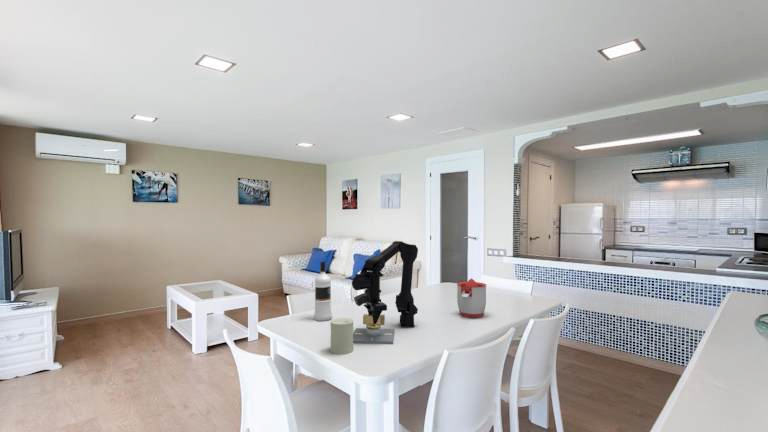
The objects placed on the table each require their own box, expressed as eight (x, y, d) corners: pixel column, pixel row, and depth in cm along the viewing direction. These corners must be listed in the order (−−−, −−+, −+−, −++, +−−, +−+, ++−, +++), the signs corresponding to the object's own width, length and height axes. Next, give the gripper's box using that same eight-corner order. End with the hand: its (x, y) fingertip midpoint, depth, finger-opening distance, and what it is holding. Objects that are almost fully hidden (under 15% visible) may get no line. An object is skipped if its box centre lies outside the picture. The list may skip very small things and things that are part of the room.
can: (343, 355, 140) (343, 324, 141) (325, 351, 145) (325, 320, 145) (358, 348, 148) (358, 318, 148) (340, 344, 153) (340, 315, 153)
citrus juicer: (450, 317, 195) (450, 279, 195) (463, 310, 209) (463, 275, 210) (479, 322, 186) (479, 282, 186) (490, 314, 200) (490, 277, 201)
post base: (394, 330, 171) (394, 322, 172) (392, 344, 154) (392, 334, 154) (356, 330, 173) (356, 321, 173) (350, 343, 155) (350, 333, 155)
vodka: (313, 317, 195) (313, 260, 196) (331, 316, 197) (331, 260, 198) (314, 322, 186) (314, 262, 187) (332, 320, 188) (332, 262, 189)
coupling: (364, 324, 167) (364, 312, 167) (385, 325, 166) (385, 313, 166) (362, 328, 161) (362, 316, 161) (383, 329, 159) (383, 317, 159)
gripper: (350, 284, 169) (349, 319, 169) (362, 292, 152) (362, 330, 151) (372, 283, 173) (372, 316, 173) (387, 290, 156) (387, 327, 155)
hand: (373, 322), depth 163 cm, fingers closed on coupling, 4 cm apart
